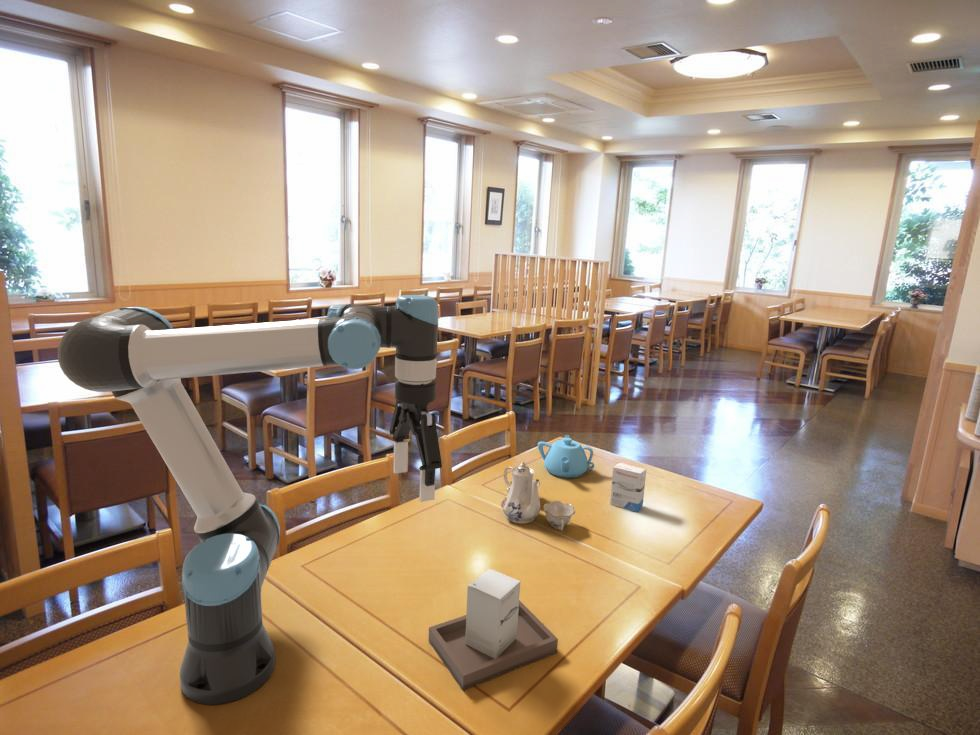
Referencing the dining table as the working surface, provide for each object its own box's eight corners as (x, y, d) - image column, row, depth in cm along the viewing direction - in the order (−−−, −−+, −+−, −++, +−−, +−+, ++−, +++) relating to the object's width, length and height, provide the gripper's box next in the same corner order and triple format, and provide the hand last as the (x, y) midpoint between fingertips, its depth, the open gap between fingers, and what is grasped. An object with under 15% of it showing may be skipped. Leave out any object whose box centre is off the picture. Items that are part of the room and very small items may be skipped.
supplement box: (496, 661, 107) (499, 600, 104) (463, 644, 111) (466, 584, 108) (518, 639, 113) (521, 580, 110) (486, 623, 117) (489, 566, 114)
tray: (462, 690, 101) (463, 675, 100) (428, 641, 113) (428, 627, 112) (556, 652, 111) (557, 638, 110) (516, 610, 123) (517, 597, 122)
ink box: (643, 506, 172) (647, 468, 169) (637, 512, 168) (641, 474, 165) (615, 498, 176) (619, 461, 173) (609, 504, 172) (612, 466, 169)
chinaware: (584, 535, 158) (593, 476, 155) (535, 545, 148) (544, 483, 145) (521, 494, 180) (529, 442, 177) (476, 501, 171) (483, 446, 168)
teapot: (529, 468, 195) (531, 436, 192) (565, 457, 206) (567, 427, 203) (563, 485, 184) (566, 451, 181) (599, 472, 194) (602, 440, 192)
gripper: (464, 395, 101) (458, 509, 106) (409, 363, 122) (407, 459, 127) (423, 399, 97) (419, 517, 102) (374, 365, 118) (373, 464, 123)
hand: (412, 485), depth 114 cm, fingers open, 13 cm apart
